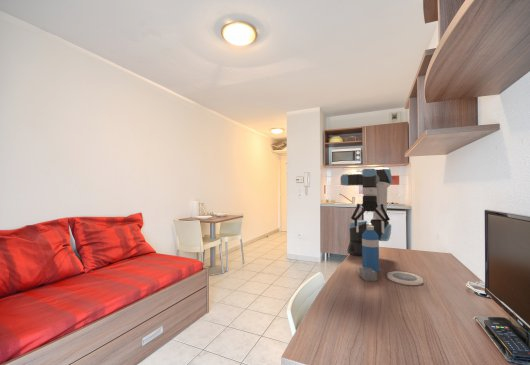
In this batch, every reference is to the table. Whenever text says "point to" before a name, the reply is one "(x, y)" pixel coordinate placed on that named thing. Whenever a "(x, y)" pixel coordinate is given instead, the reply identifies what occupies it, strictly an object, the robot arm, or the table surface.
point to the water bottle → (370, 249)
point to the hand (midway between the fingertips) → (370, 232)
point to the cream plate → (404, 278)
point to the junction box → (368, 274)
